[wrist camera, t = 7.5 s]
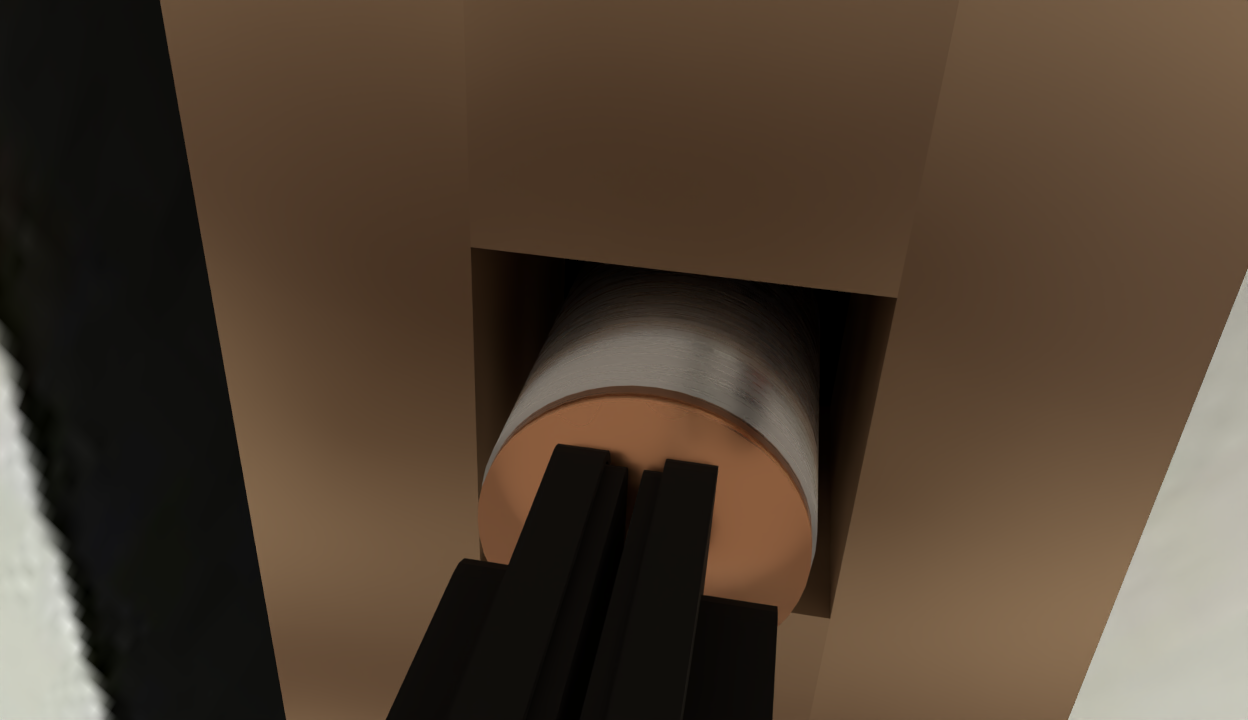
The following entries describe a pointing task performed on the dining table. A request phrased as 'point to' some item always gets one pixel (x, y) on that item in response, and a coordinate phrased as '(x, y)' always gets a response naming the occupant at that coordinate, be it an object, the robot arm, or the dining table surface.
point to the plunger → (680, 414)
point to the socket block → (733, 248)
